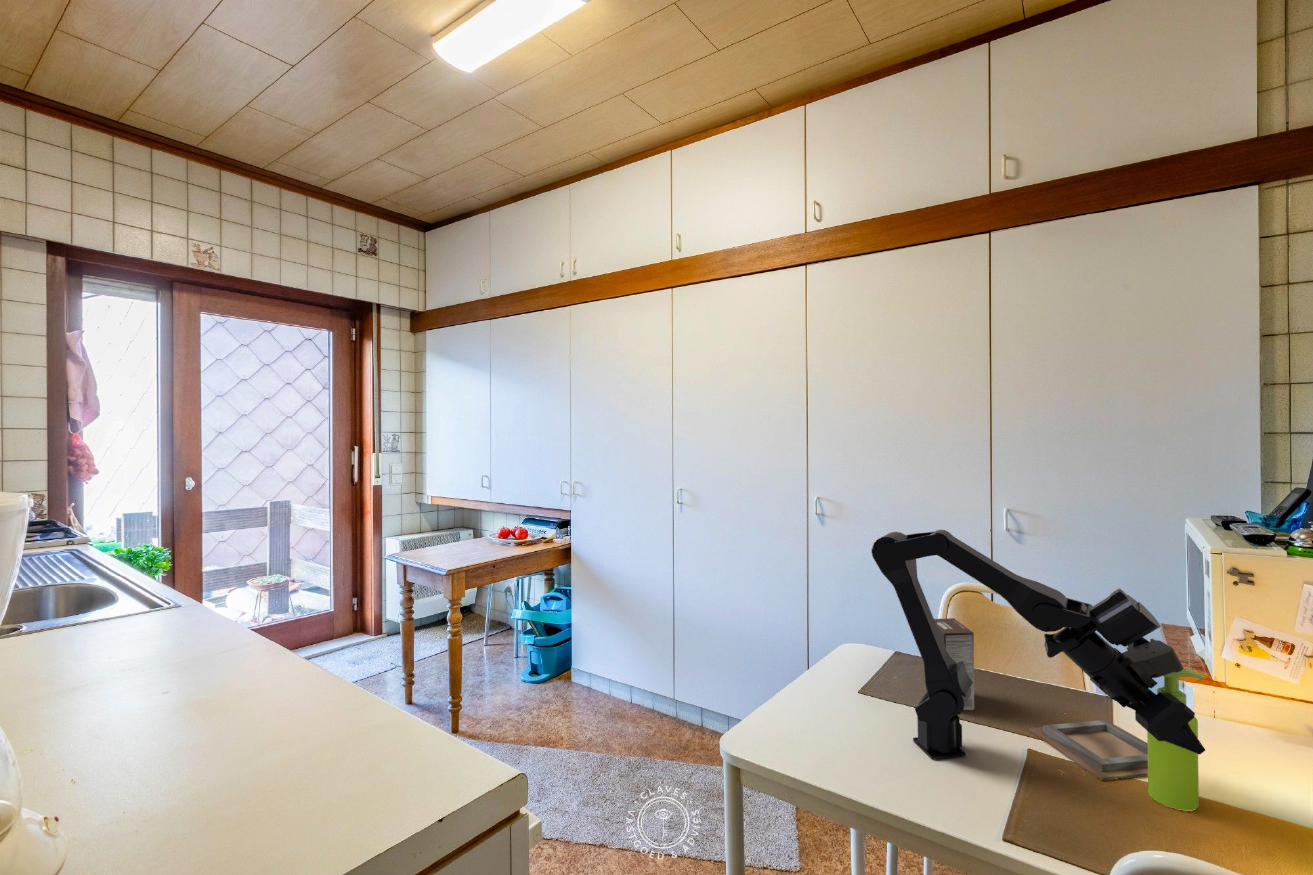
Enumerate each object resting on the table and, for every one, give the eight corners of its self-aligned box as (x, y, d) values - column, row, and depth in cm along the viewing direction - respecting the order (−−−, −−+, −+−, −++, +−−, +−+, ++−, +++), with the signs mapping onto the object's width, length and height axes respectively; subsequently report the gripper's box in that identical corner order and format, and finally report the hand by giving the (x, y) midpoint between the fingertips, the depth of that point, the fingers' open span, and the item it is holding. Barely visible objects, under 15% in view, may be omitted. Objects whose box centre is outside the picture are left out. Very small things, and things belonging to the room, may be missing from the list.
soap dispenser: (1216, 814, 88) (1215, 679, 88) (1162, 809, 89) (1161, 676, 89) (1189, 790, 94) (1188, 663, 93) (1139, 786, 95) (1138, 661, 95)
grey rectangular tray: (1101, 780, 97) (1101, 770, 97) (1029, 731, 113) (1029, 722, 113) (1190, 771, 98) (1189, 761, 98) (1106, 724, 114) (1106, 715, 114)
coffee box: (925, 691, 130) (923, 618, 130) (954, 690, 130) (953, 617, 130) (944, 711, 121) (943, 632, 121) (976, 710, 121) (975, 631, 121)
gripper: (1176, 646, 83) (1274, 732, 81) (1109, 606, 101) (1187, 676, 99) (1112, 698, 85) (1206, 784, 83) (1057, 650, 103) (1133, 719, 101)
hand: (1182, 735), depth 91 cm, fingers open, 9 cm apart
